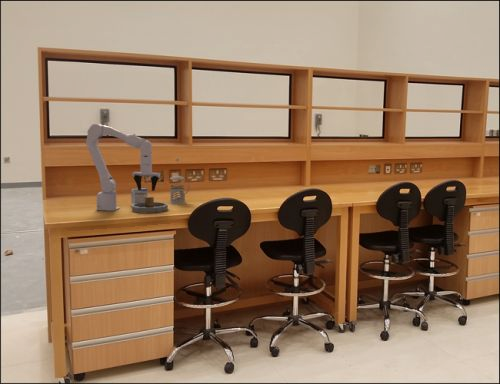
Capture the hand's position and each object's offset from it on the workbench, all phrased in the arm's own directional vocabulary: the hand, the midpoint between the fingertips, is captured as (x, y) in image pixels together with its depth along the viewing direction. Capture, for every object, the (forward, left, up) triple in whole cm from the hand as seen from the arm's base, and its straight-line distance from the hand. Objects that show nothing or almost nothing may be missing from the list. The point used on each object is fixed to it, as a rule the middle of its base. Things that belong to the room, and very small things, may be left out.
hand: (146, 190), depth 253 cm
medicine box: (-10, +13, -10) cm, 19 cm away
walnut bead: (+2, -1, -9) cm, 10 cm away
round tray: (+2, -1, -10) cm, 10 cm away
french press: (+9, +24, -10) cm, 28 cm away
